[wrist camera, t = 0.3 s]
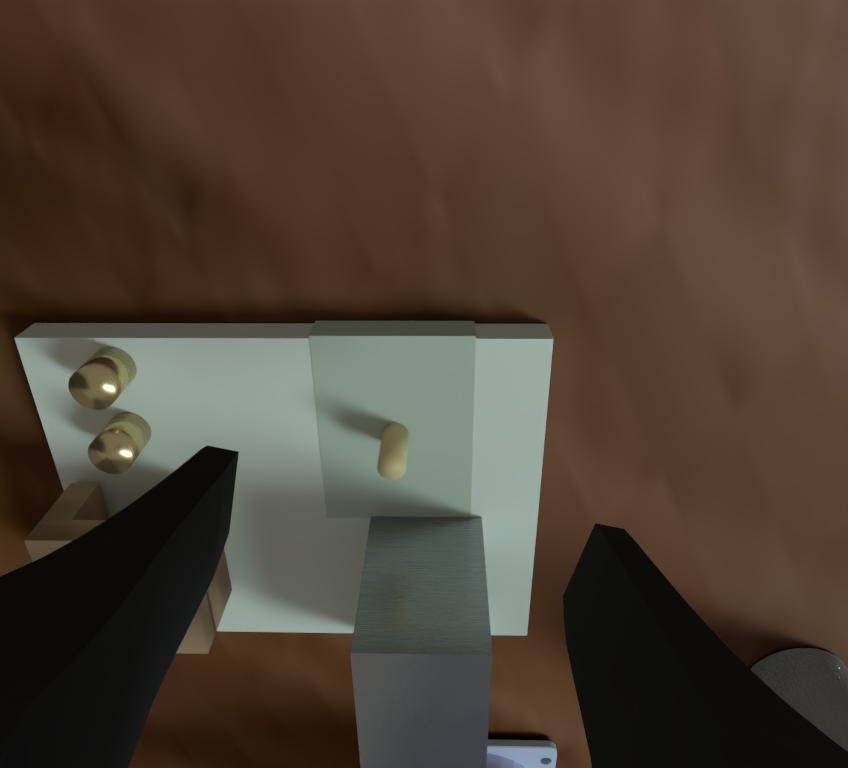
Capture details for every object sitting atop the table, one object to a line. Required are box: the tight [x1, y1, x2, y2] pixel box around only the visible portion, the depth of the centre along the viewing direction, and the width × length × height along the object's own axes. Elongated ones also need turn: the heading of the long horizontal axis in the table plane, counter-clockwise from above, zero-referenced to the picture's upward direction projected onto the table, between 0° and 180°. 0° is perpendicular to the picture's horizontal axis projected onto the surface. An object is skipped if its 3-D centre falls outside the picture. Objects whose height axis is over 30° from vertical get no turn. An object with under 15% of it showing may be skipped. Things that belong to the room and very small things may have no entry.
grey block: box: [350, 516, 492, 768], centre depth 23 cm, size 6×4×6 cm, turn 1°
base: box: [14, 321, 553, 636], centre depth 24 cm, size 13×17×3 cm
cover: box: [24, 483, 232, 654], centre depth 23 cm, size 5×5×3 cm
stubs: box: [68, 347, 151, 474], centre depth 22 cm, size 4×1×2 cm, turn 0°
